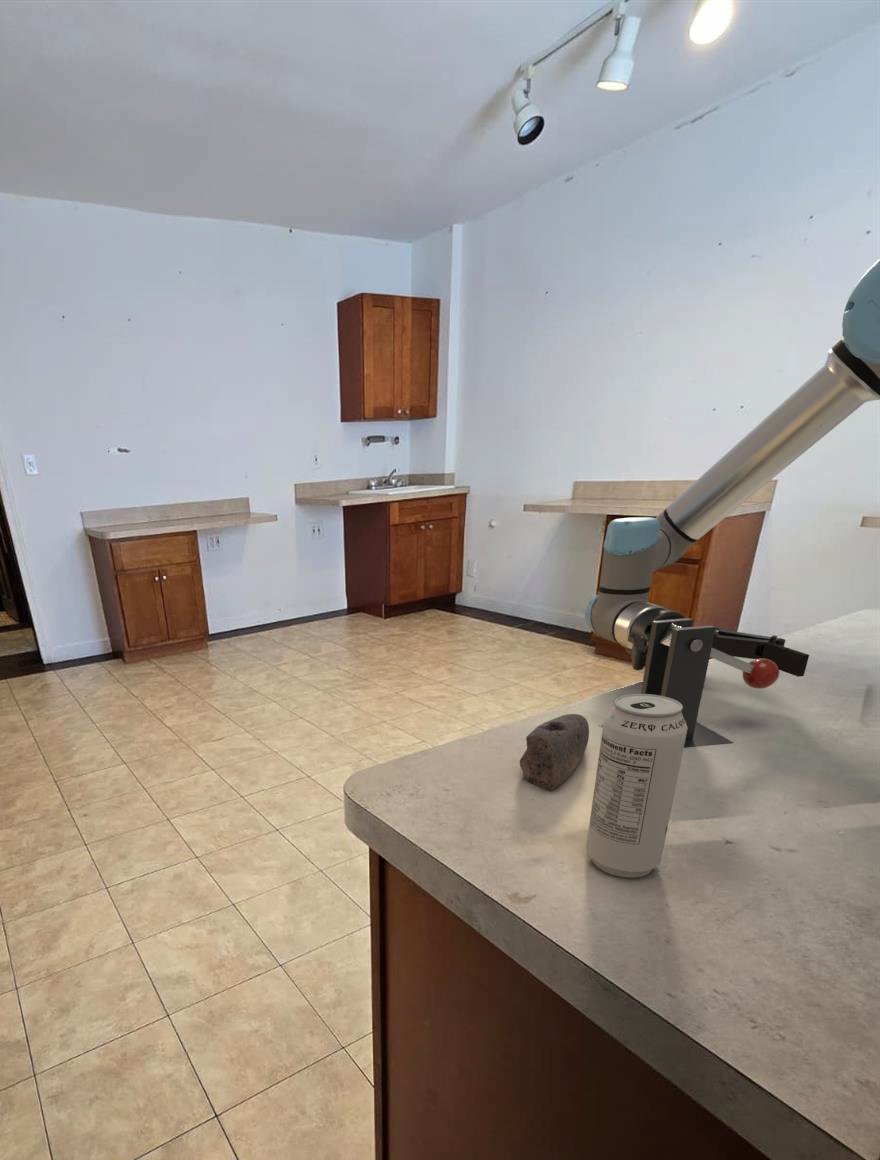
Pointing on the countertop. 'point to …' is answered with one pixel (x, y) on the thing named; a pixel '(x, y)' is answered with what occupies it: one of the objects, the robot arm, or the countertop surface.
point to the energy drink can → (635, 783)
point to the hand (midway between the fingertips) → (750, 670)
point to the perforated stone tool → (554, 750)
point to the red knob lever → (741, 665)
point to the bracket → (681, 673)
